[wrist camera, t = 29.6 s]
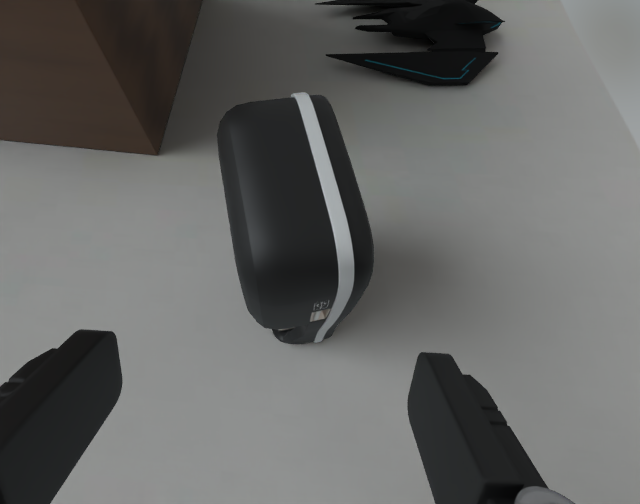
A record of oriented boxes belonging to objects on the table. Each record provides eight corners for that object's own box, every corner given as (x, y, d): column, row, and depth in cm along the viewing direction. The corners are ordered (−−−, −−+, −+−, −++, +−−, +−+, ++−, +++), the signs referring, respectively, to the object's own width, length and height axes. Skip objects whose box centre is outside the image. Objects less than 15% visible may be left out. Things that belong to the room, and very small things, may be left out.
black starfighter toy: (516, 86, 28) (540, 52, 25) (328, 91, 26) (333, 55, 23) (474, -6, 32) (491, -43, 29) (310, -7, 30) (313, -47, 27)
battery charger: (242, 238, 21) (197, 75, 10) (306, 227, 21) (323, 62, 11) (263, 358, 18) (230, 303, 8) (334, 342, 19) (391, 270, 8)
